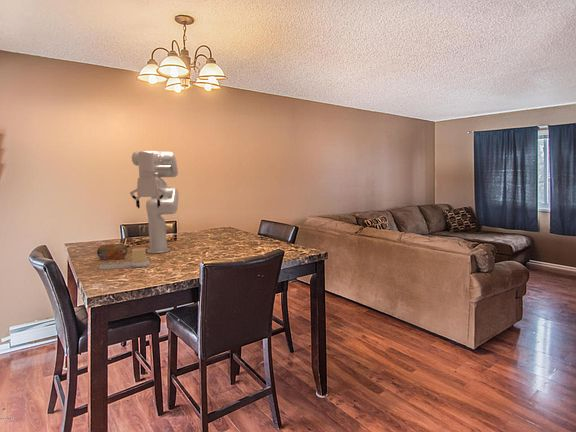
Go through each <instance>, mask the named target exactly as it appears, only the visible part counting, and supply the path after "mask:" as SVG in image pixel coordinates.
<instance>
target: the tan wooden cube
mask: <svg viewBox="0 0 576 432" xmlns="http://www.w3.org/2000/svg"><path fill="white" fill-rule="evenodd" d="M146 259H147V247H138V248H137V247H135V248H132V250H131V261H132V263H137V262H146Z"/></svg>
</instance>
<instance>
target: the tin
mask: <svg viewBox="0 0 576 432" xmlns="http://www.w3.org/2000/svg"><path fill="white" fill-rule="evenodd" d="M127 254H128V248H127V246H126V245H125V244H123V243H111V244H109V243H108V244H102V245H100V246H99V247H98V248H97V249H96V255H97V257H98V258H99V259H101V260H102V261H112V260H122V259H124V258H125V257H126V256H127Z"/></svg>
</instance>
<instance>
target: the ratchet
mask: <svg viewBox="0 0 576 432" xmlns="http://www.w3.org/2000/svg"><path fill="white" fill-rule="evenodd" d="M149 266H150V259H148V258H146V262H137V263H132V260H130V261H121V262H108V263H100V264H99V267H98V268H99V270H100V271H102V270H115V269H125V268H131V269H133V268H134V269H140V268H147V267H149Z"/></svg>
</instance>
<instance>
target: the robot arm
mask: <svg viewBox="0 0 576 432" xmlns="http://www.w3.org/2000/svg"><path fill="white" fill-rule="evenodd" d="M131 162H132V164H133V165H134V166H135V167H137V166H138V175H139V177H138V178H137V182H136V183H137V185H136V189H133V190H132V191H130V192H129V194H130V196H131V198H132V199H133V200H135V202H136V203H135V204H136V208H137V209H140V208H141V207H140V198H150V199H147V200H146V203H145V208H146V214H147V220H148V237H149V238H148V239H149V240H148V241H149V248H148V249H146V253H148V254H164V253H168V252H170V250H171V249H170V247H168V246H167V225H166V224H167V223H166V219H164V217H163V216H162V215H175V214H176V213H177V211H178V205H179V204H178V203H179V191H178V189H177V188H176V187H174V186H168V184H167V182H166V181H165V179H163V178H176V177H177V176H178V174H179V168H178V164H177V159H176V156H175V153H173V152H172V151H166V150H164V151H163V150H162V151H159V150H140V151H133V152H132V154H131ZM135 193H137V195H135Z"/></svg>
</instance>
